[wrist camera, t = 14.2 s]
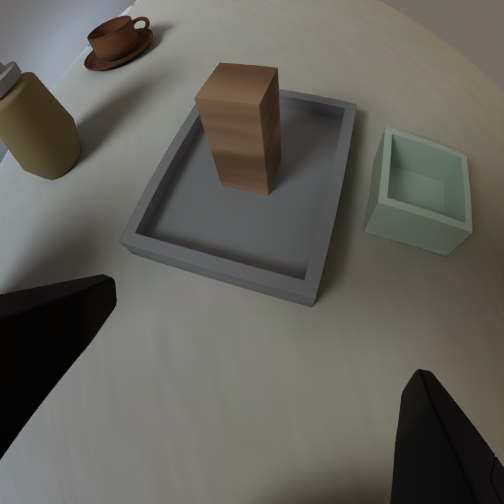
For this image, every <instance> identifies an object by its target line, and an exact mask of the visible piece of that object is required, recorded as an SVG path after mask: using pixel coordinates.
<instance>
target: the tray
mask: <svg viewBox="0 0 504 504" xmlns="http://www.w3.org/2000/svg"><path fill="white" fill-rule="evenodd" d="M279 104H280V128H281V157H282V158H281V161H280V164H279V167H278V170H277V172H276V175H275V178H274V181H273V184H272V186H271V189H270V192H269V195H263V194H259V193H255V192H250V191H245V190H241V189H236V188H231V187H227V186H222V185H221V182H220V178H219V175H218V172H217V169H216V166H215V163H214V159H213V156H212V153H211V150H210V147H209V143H208V140H207V137H206V134H205V131H204V127H203V124H202V121H201V118H200V115H199V111H198V108H197V105H195V106H194V108H193V109H192V111H191V112H190V114H189V115H188V117H187V119H186V120H185V122H184V123H183V125H182V127H181V128H180V130H179V131H178V133H177V135H176V136H175V138H174V140H173V141H172V143H171V145H170V146H169V148H168V150H167V151H166V153H165V155H164V157H163V158H162V160H161V162H160V164H159V165H158V167H157V169H156V171H155V173H154V174H153V176H152V178H151V180H150V182H149V184H148V185H147V187H146V189H145V191H144V193H143V195H142V197H141V199H140V201H139V203H138V205H137V207H136V208H135V210H134V212H133V214H132V216H131V219H130V221H129V223H128V225H127V227H126V229H125V231H124V233H123V235H122V237H121V239H120V241H119V242H120V243H121V244H122V245H124V246H125V247H126V248H127V249H128V250H129V251H130V252H131V253H132V254H135V255H139V256H142V257H145V258H148V259H151V260H154V261H157V262H160V263H163V264H167V265H170V266H173V267H176V268H179V269H183V270H186V271H189V272H192V273H195V274H199V275H202V276H205V277H209V278H212V279H215V280H219V281H222V282H225V283H229V284H232V285H235V286H239V287H242V288H246V289H249V290H253V291H256V292H260V293H263V294H267V295H270V296H274V297H277V298H281V299H284V300H288V301H292V302H295V303H299V304H302V305H306V306H310V307H312V306H313V303H314V301H315V298H316V294H317V291H318V287H319V283H320V279H321V275H322V271H323V267H324V263H325V259H326V255H327V251H328V247H329V243H330V239H331V234H332V230H333V226H334V221H335V217H336V212H337V208H338V203H339V198H340V193H341V189H342V184H343V179H344V174H345V168H346V163H347V158H348V152H349V147H350V141H351V135H352V129H353V123H354V117H355V111H356V104H353V103H349V102H344V101H340V100H335V99H330V98H326V97H321V96H315V95H310V94H305V93H299V92H293V91H286V90H280V89H279Z"/></svg>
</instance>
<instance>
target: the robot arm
mask: <svg viewBox="0 0 504 504" xmlns="http://www.w3.org/2000/svg"><path fill="white" fill-rule="evenodd" d="M116 303H117V297H116V285H115V280H114V279H113V278H112V277H109V276H107V275H104V274H101V275H96V276H91V277H86V278H81V279H76V280H71V281H66V282H61V283H56V284H51V285H46V286H41V287H36V288H31V289H26V290H21V291H16V292H11V293H6V294H4V295H3V294H1V295H0V460H1V458H2V457H3V455H4V454H5V452H6V451H7V450H8V448H9V447H10V445H11V444H12V443H13V441H14V440H15V438H16V437H17V436H18V434H19V432H20V431H21V430H22V428H23V427H24V426H25V424H26V423H27V422H28V420H29V419H30V418H31V416H32V415H33V414H34V412H35V411H36V410H37V409H38V407H39V406H40V405H41V403H42V402H43V401H44V399H45V398H46V397H47V396H48V394H49V393H50V392H51V391H52V389H53V388H54V387H55V386H56V384H57V383H58V382H59V381H60V379H61V378H62V377H63V376H64V374H65V373H66V372H67V371H68V369H69V368H70V367H71V366H72V365H73V363H74V362H75V361H76V360H77V358H78V357H79V356H80V355H81V354H82V352H83V351H84V350H85V349H86V348H87V346H88V345H89V344H90V343H91V341H92V340H93V339H94V337H95V336H96V334H97V333H98V331H99V330H100V328H101V327H102V326H103V324H104V323H105V321H106V320H107V318H108V317H109V315H110V314H111V313H112V311H113V310H114V308H115V306H116ZM390 504H504V467H503V465H502V464H501V463H500V461H499V460H498V458H497V457H495V454H494V453H493V451H492V450H491V449H490V447H489V446H488V444H487V443H486V442H485V440H484V439H483V438H482V436H481V435H480V433H479V432H478V431H477V429H476V428H475V427H474V425H473V424H472V423H471V421H470V420H469V419H468V418H467V416H466V415H465V414H464V412H463V411H462V410H461V408H460V407H459V406H458V405H457V403H456V402H455V401H454V399H453V398H452V397H451V396H450V394H449V393H448V392H447V391H446V389H445V388H444V387H443V386H442V384H441V383H440V382H439V381H438V379H437V378H436V377H435V376H434V374H433V373H432V372H431V371H428V370H422V369H418V370H416V371H415V373H414V374H413V376H412V377H411V379H410V380H409V382H408V384H407V385H406V387H405V388H404V390H403V392H402V396H401V404H400V413H399V420H398V427H397V434H396V441H395V454H394V469H393V481H392V491H391V499H390Z"/></svg>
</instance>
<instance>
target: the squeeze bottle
mask: <svg viewBox="0 0 504 504" xmlns="http://www.w3.org/2000/svg"><path fill="white" fill-rule="evenodd" d="M0 138H1V140H2V141H3V142H4V143H5V145H6V147H7V148H8V149H9V151H10V152H11V153H12V155H13V156H14V157H15V159H16V160H17V161H18V163H19V164H20V165H21V167H22V168H23V169H24V170H25V171H27V172H30V173H32V174H35V175H37V176H40V177H42V178H45V179H50V180H53V179H56V178H59V177H60V176H62V175H63V174H65V173H66V172H67V171H68V170H69V169H70V168H71V167H72V166H73V165H74V164H75V162H76V160H77V159H78V157H79V154H80V150H81V147H80V142H79V138H78V134H77V130H76V126H75V122H74V118H73V117H72V116H71V115H70V114H69V113H68V112H67V111H66V110H65V108H64V107H63V106H62V105H61V104H60V103H59V102H58V100H57V99H56V98H55V97H54V96H53V95H52V94H51V92H50V91H49V90H48V89H47V88H46V87H45V86H44V84H43V83H42V82H41V81H40V80H39V79H38V77H37V76H36V75H35V74H34V73H32V72H26V73H23V74H21V70H20V68H19V67H18V65H17V64H16V62H10V63H8V64H7V65H5V66H4V65H3V64H2V63H1V62H0Z"/></svg>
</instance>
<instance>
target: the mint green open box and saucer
mask: <svg viewBox="0 0 504 504" xmlns="http://www.w3.org/2000/svg"><path fill="white" fill-rule="evenodd" d="M140 20H143V21H145V23H146V25H145V27H144V28H139V29H135V28H134V24H135V23H136V22H138V21H140ZM149 25H150V22H149V20H148V18H146V17H138V18H136V19H134V20H133V21H132V19H131V17H130V16H121V17H117V18H114V19H112V20H109V21H107V22H105V23H103V24H101V25H100V26H98V27H97V28H95V29H94V30H93V31H92V32H91V33H90V34H89V35H88V41H89V43H90V44H91V46H92V48H93V51H92V52H91V53H90V54H89V55H88V56H87V58H86V59H85V62H84V65H85V67H86V68H87V69H88V70H92V71H102V70H107V69H110V68H113V67H116V66H118V65H121V64H123V63H125V62H127V61H128V60H130V59H132V58H134V57H135V56H137V55H138V54H139V53H141V52H142V51H143V50H144V49H145V48H146V47H147V46H148V45H149V43H150V41H151V40H152V37H153V33H152V31H151V30H149V29H148V27H149Z"/></svg>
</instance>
